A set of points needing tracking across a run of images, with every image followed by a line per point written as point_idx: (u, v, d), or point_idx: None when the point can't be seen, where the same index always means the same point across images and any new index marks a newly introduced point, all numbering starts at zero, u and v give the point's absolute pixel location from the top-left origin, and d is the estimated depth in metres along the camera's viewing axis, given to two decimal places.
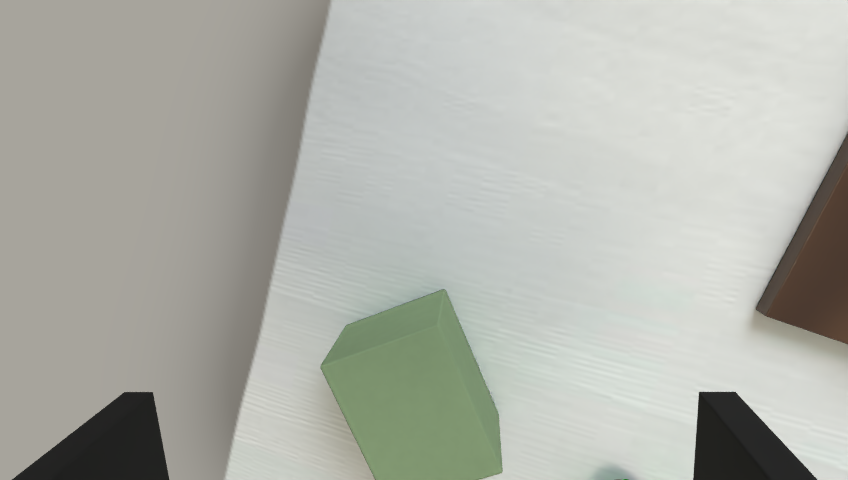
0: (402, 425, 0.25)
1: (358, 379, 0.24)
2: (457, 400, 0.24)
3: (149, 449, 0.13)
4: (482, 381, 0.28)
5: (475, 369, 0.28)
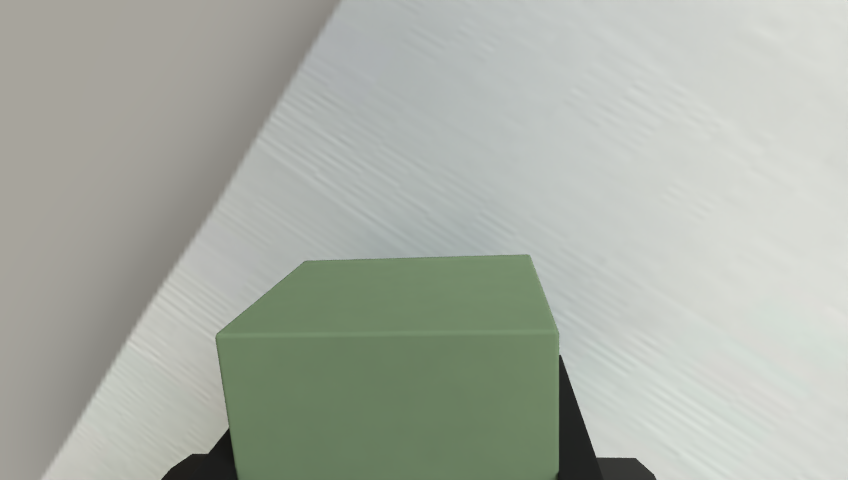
0: None
1: (301, 397, 0.09)
2: None
3: None
4: None
5: None
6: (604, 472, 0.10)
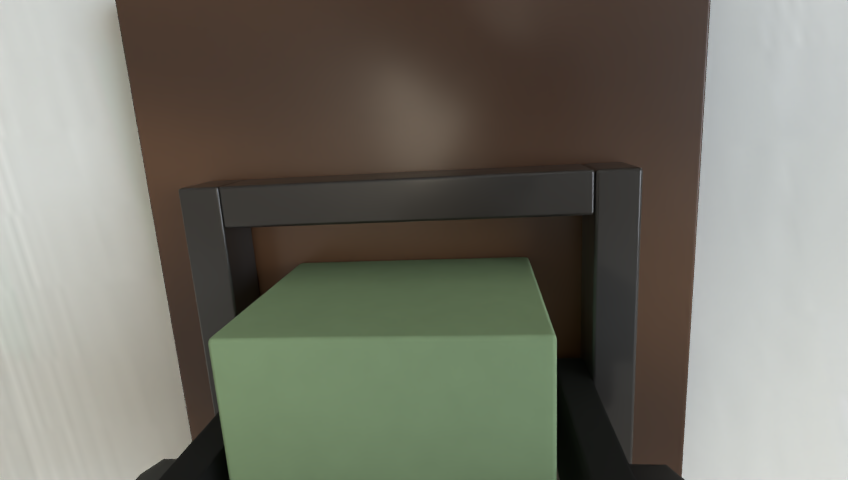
0: None
1: (295, 403, 0.09)
2: None
3: None
4: None
5: None
6: (635, 479, 0.10)
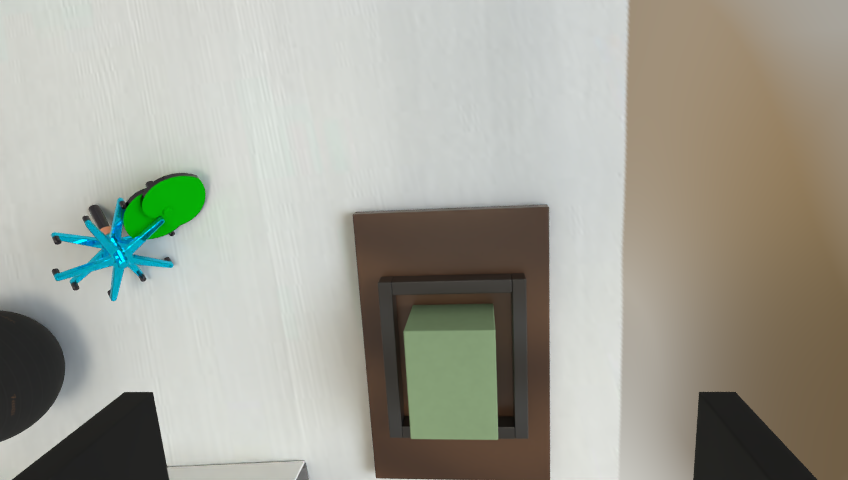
0: (443, 387, 0.35)
1: (426, 348, 0.34)
2: (487, 383, 0.35)
3: (149, 449, 0.13)
4: None
5: None
6: None
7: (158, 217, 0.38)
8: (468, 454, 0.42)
